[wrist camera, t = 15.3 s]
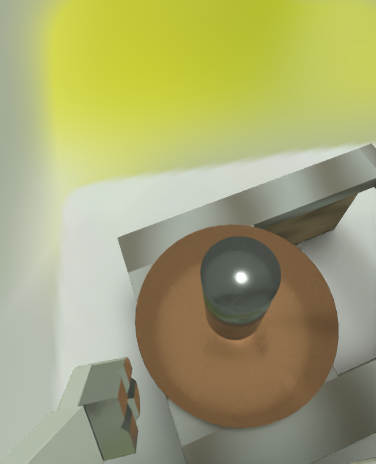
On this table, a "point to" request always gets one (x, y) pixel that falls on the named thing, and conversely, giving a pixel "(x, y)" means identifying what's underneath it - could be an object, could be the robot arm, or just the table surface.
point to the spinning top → (236, 326)
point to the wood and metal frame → (295, 231)
